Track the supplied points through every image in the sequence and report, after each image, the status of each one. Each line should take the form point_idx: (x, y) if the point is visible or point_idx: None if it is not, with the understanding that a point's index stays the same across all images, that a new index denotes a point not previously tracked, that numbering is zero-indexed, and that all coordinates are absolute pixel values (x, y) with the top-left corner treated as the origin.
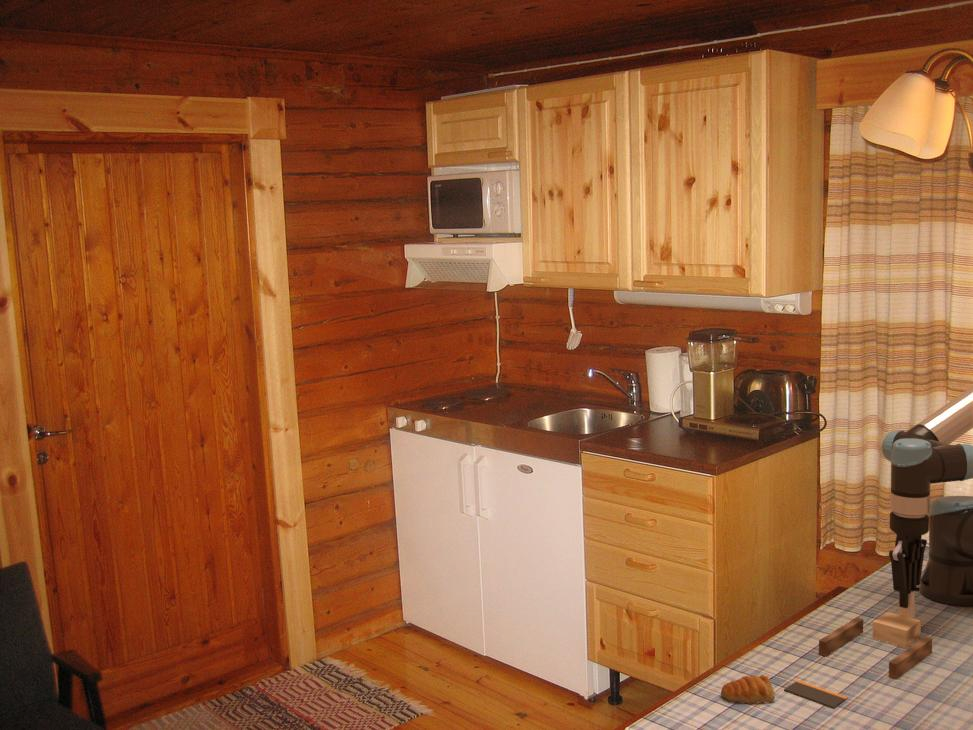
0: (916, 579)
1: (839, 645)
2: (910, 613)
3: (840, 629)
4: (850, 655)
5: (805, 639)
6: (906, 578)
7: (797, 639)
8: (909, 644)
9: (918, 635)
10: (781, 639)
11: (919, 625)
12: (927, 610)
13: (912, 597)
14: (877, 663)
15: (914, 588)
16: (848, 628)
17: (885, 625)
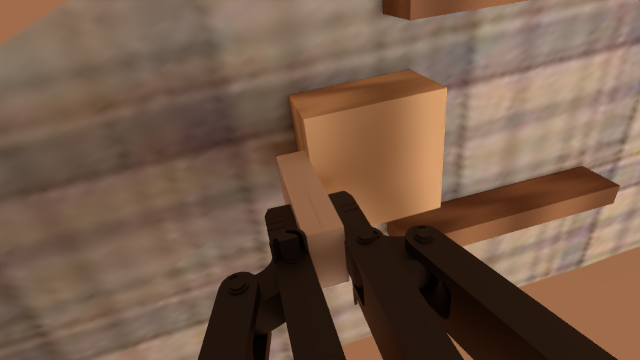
0: (286, 301)
1: (521, 186)
2: (315, 171)
3: (519, 223)
4: (547, 137)
5: (512, 251)
6: (473, 295)
7: (521, 258)
8: (383, 76)
9: (308, 96)
10: (538, 271)
11: (312, 109)
12: (27, 238)
13: (324, 214)
14: (563, 56)
15: (301, 253)
16: (500, 218)
17: (441, 166)
